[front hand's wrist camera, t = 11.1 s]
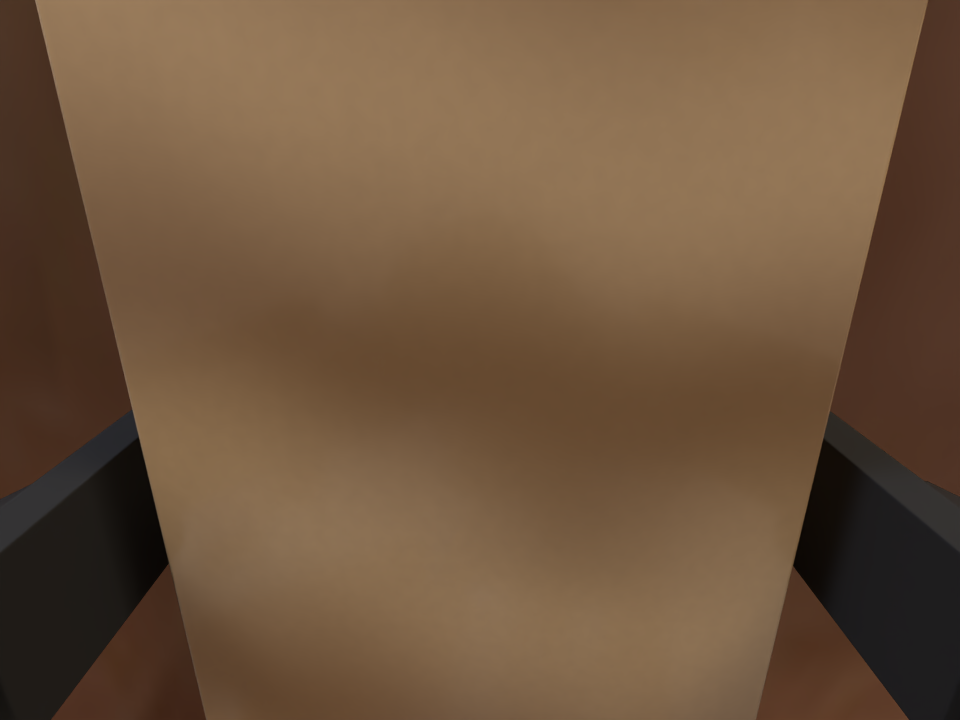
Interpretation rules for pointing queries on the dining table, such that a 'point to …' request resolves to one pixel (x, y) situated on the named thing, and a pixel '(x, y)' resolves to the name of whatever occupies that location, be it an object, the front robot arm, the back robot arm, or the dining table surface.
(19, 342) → the dining table surface
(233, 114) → the tan wooden block
